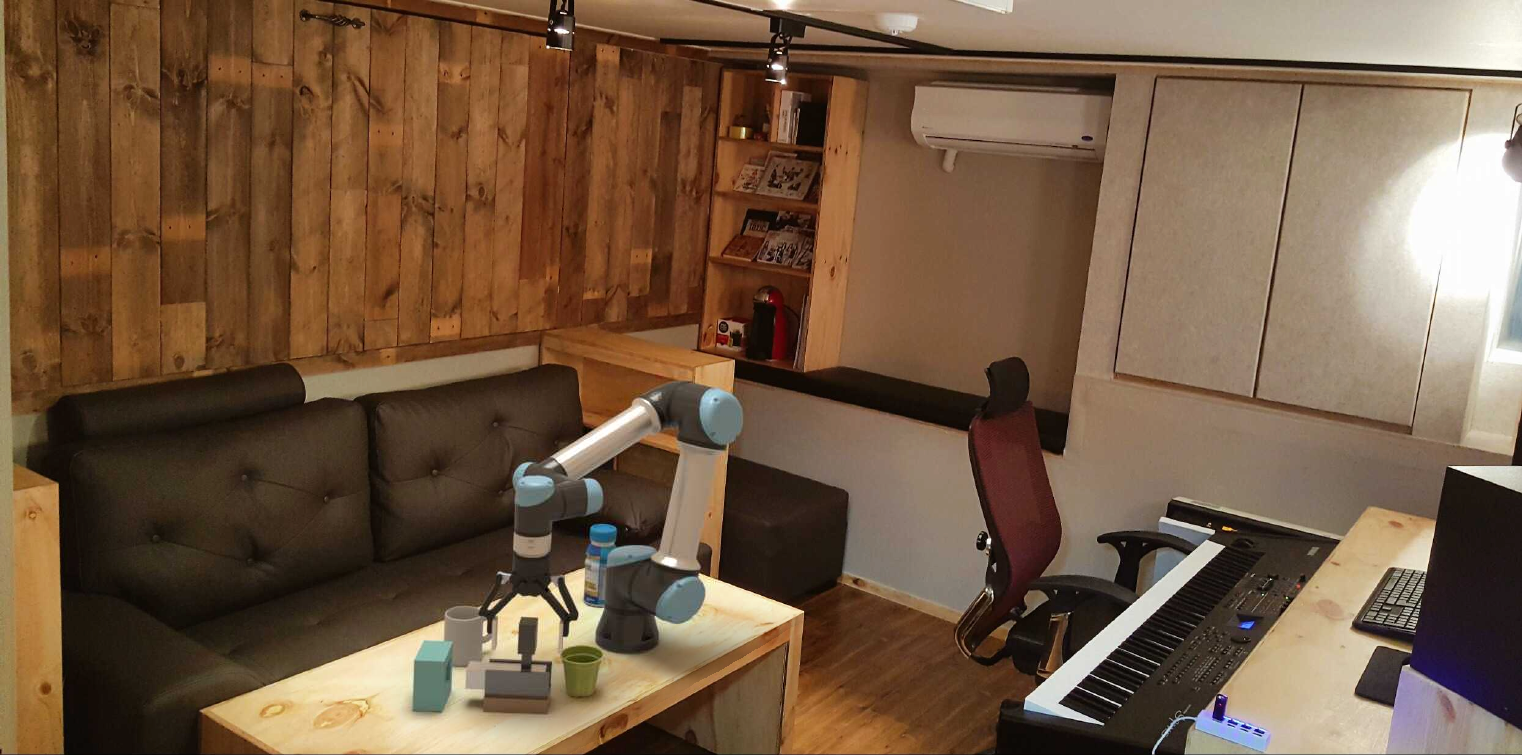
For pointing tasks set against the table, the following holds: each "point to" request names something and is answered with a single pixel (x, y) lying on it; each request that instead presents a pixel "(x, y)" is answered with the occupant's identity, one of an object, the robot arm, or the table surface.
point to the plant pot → (581, 669)
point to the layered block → (517, 689)
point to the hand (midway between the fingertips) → (527, 649)
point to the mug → (465, 634)
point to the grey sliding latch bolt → (525, 647)
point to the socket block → (432, 675)
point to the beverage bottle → (598, 563)
